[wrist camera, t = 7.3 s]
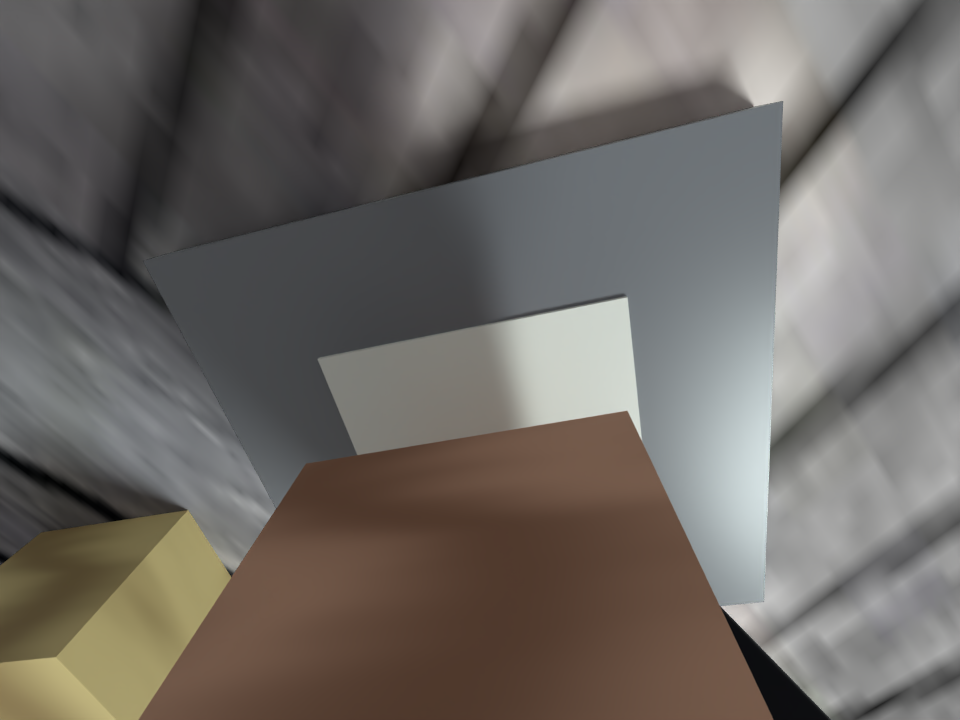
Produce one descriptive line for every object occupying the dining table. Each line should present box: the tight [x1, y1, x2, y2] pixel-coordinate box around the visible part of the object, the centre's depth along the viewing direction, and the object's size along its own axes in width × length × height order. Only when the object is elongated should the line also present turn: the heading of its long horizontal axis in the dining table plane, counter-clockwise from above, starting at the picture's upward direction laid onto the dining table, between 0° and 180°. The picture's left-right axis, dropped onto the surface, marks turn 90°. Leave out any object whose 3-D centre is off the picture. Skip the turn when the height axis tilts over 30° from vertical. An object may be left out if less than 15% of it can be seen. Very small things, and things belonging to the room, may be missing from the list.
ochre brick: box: [0, 510, 231, 720], centre depth 15 cm, size 6×6×5 cm
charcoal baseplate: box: [143, 101, 783, 606], centre depth 13 cm, size 14×14×1 cm
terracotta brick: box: [139, 411, 773, 720], centre depth 7 cm, size 6×6×5 cm
